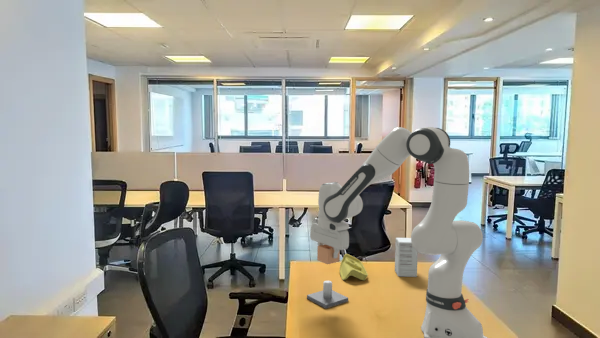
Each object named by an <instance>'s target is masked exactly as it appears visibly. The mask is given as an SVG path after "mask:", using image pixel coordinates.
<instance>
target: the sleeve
mask: <svg viewBox="0 0 600 338" xmlns="http://www.w3.org/2000/svg"><path fill="white" fill-rule="evenodd" d="M316 250H317V253H316V254H317V256H316V257H317V259H316V260H317V262H321V263H323V264H325V265H331V264H334V263H340V262H341V261H340V258H341V257H340V256H341V255H340V253H341V250H340V251H339V253H338V257H337V258H332V253H334V251H335V250H334V247H331V246H328V245H325V244H323V245H320V246H318V245H317V249H316Z"/></svg>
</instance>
